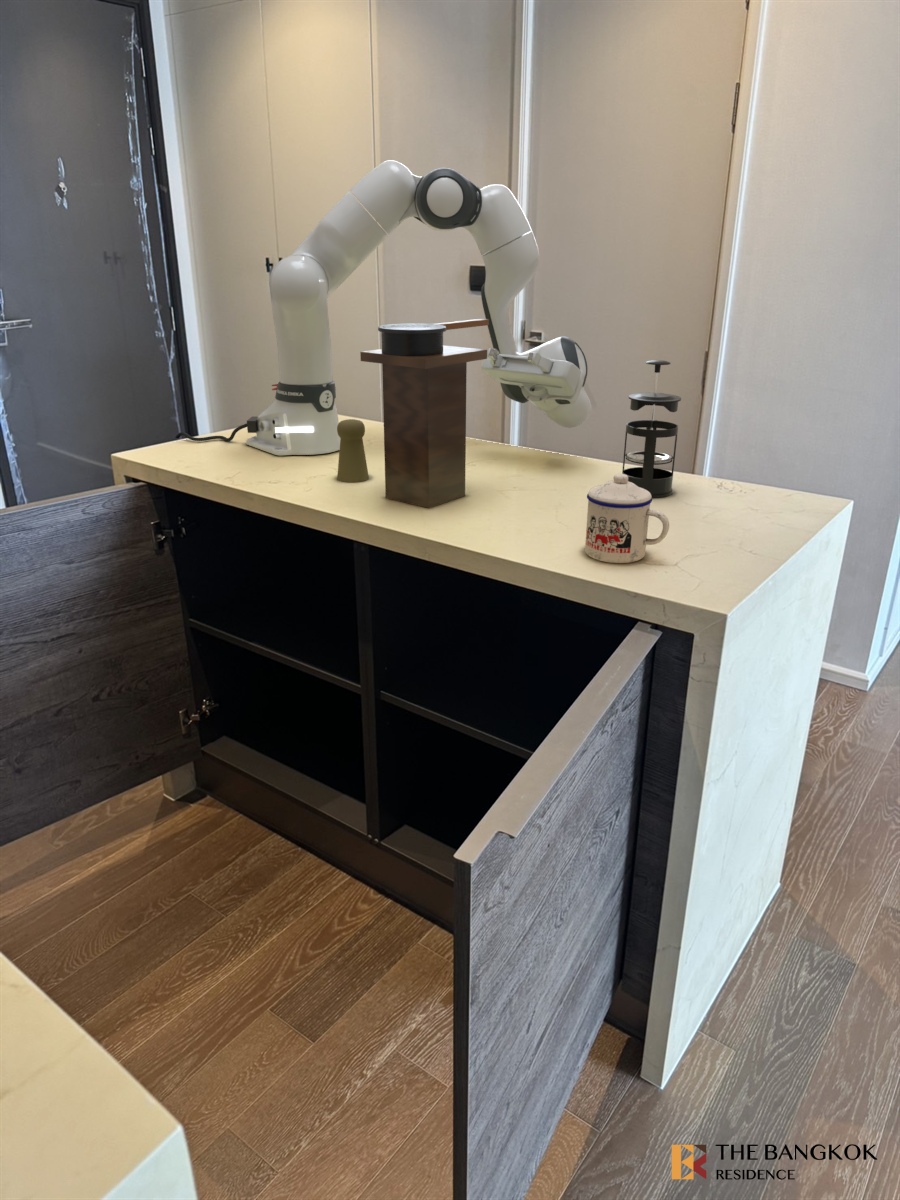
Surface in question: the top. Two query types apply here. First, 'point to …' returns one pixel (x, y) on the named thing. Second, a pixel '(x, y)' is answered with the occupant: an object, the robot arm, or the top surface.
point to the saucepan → (420, 337)
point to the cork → (352, 452)
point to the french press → (652, 441)
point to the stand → (425, 424)
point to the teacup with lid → (620, 521)
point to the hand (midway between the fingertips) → (510, 353)
